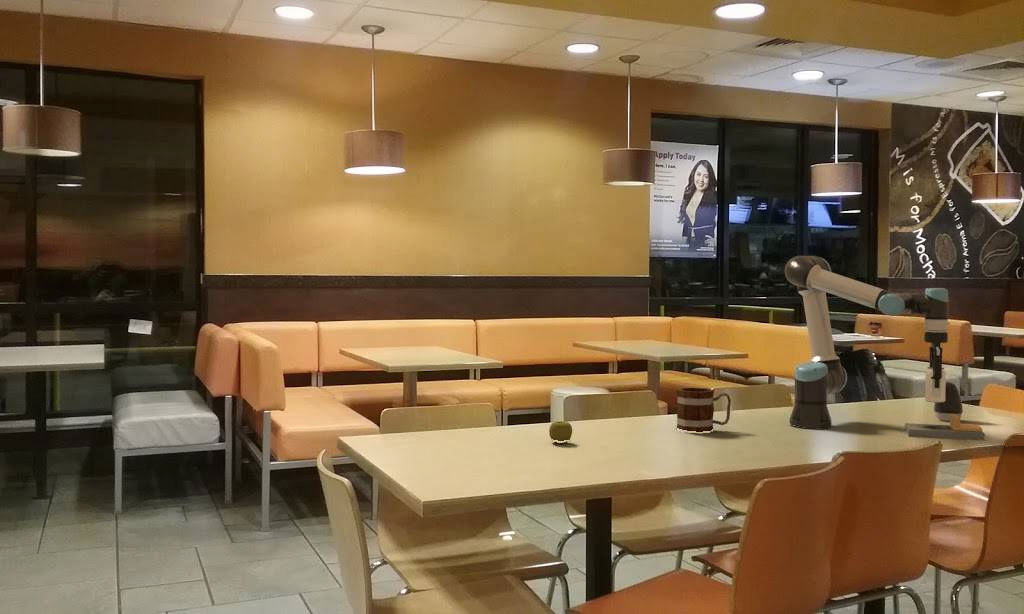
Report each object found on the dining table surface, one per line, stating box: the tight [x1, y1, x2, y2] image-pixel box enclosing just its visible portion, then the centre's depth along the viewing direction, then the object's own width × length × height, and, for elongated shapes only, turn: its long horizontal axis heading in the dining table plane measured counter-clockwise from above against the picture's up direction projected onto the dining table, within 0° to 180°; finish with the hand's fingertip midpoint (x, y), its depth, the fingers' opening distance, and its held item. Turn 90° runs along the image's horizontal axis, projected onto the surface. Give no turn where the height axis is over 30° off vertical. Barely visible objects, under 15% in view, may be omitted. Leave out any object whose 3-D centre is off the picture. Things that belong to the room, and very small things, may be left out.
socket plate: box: [904, 422, 985, 441], centre depth 325 cm, size 24×14×2 cm, turn 72°
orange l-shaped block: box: [949, 414, 983, 432], centre depth 322 cm, size 9×9×4 cm
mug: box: [676, 387, 732, 432], centre depth 332 cm, size 20×14×15 cm
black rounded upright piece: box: [933, 381, 964, 423], centre depth 356 cm, size 10×10×15 cm
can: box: [924, 366, 947, 403], centre depth 325 cm, size 6×6×12 cm
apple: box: [548, 421, 573, 441], centre depth 307 cm, size 8×8×7 cm
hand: (935, 395), depth 325 cm, fingers closed on can, 6 cm apart
